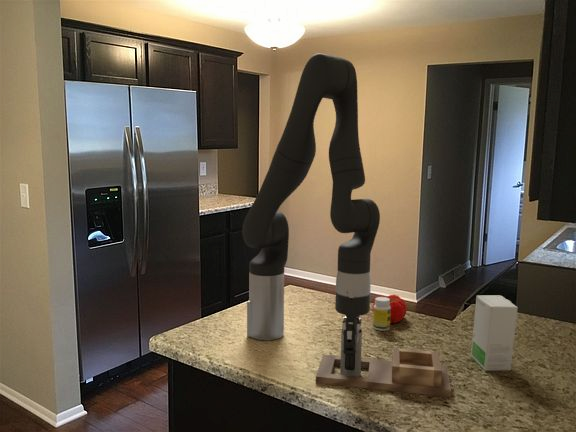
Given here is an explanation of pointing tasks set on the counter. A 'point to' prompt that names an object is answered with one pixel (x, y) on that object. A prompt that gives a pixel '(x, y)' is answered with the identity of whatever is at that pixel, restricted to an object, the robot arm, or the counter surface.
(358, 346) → the grey hollow tube
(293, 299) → the counter surface
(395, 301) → the tomato
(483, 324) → the skincare box
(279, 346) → the counter surface
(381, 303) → the supplement bottle
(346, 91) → the robot arm
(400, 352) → the socket board
